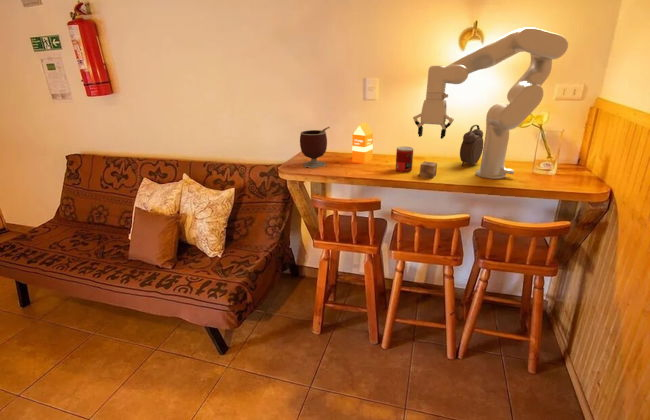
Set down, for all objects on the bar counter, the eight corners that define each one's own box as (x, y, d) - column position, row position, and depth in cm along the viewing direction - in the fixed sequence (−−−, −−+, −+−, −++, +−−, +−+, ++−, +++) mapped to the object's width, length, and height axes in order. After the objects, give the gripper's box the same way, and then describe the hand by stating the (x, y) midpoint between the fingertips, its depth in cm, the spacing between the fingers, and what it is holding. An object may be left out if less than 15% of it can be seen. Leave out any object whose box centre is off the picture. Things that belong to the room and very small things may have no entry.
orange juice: (352, 161, 190) (352, 123, 182) (360, 158, 196) (360, 121, 189) (364, 163, 185) (365, 125, 178) (372, 159, 192) (373, 122, 184)
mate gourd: (298, 168, 180) (296, 128, 172) (304, 161, 192) (302, 124, 184) (328, 169, 177) (327, 129, 169) (332, 162, 189) (331, 124, 182)
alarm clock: (468, 160, 186) (473, 122, 178) (481, 163, 181) (487, 123, 173) (455, 166, 176) (460, 126, 169) (469, 169, 171) (475, 127, 164)
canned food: (407, 173, 167) (409, 150, 163) (392, 170, 172) (393, 148, 167) (414, 169, 173) (416, 147, 168) (399, 167, 177) (401, 145, 173)
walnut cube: (436, 175, 164) (437, 162, 161) (432, 178, 159) (433, 166, 157) (423, 173, 167) (424, 161, 164) (419, 177, 162) (420, 164, 160)
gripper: (458, 96, 148) (453, 137, 155) (417, 95, 156) (414, 134, 163) (454, 98, 142) (449, 140, 149) (412, 97, 150) (409, 137, 157)
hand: (431, 137), depth 156 cm, fingers open, 9 cm apart
